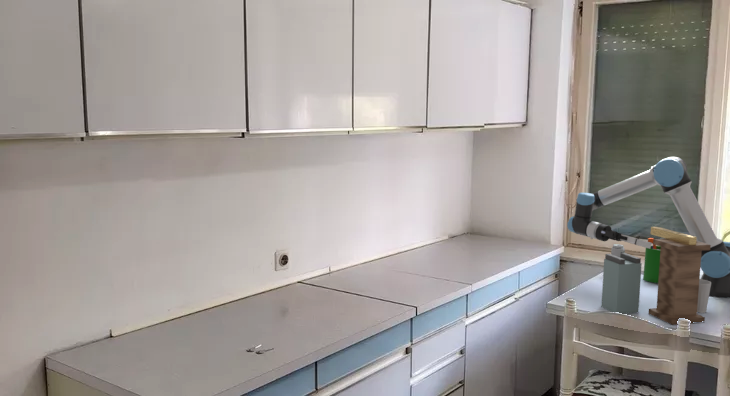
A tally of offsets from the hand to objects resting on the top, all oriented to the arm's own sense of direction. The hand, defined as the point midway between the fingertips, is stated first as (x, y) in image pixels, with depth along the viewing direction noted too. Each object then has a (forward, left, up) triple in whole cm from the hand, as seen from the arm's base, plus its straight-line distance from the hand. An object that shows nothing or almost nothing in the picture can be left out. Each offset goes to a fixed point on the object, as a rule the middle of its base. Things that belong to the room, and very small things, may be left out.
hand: (643, 243), depth 277 cm
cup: (-20, +15, -23) cm, 34 cm away
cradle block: (+10, +23, -23) cm, 34 cm away
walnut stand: (-10, +28, -23) cm, 38 cm away
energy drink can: (+7, -34, -23) cm, 42 cm away
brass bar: (-8, +24, +7) cm, 26 cm away
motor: (-9, -30, -23) cm, 39 cm away
